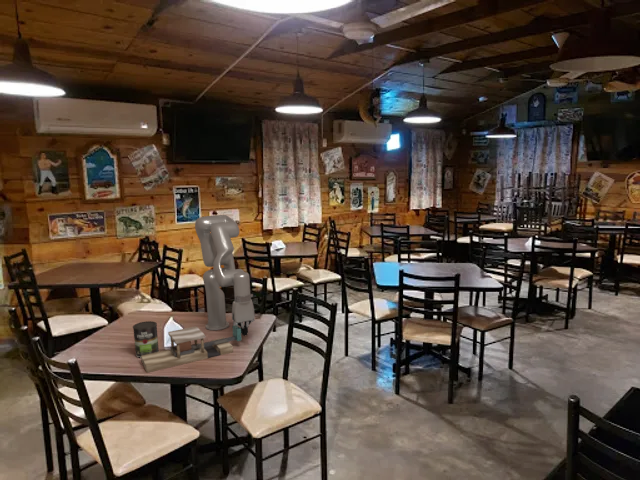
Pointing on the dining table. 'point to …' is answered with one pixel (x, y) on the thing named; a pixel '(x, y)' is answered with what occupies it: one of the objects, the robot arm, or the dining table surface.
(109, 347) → the dining table surface
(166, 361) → the tunnel
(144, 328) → the coffee can
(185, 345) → the block
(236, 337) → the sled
